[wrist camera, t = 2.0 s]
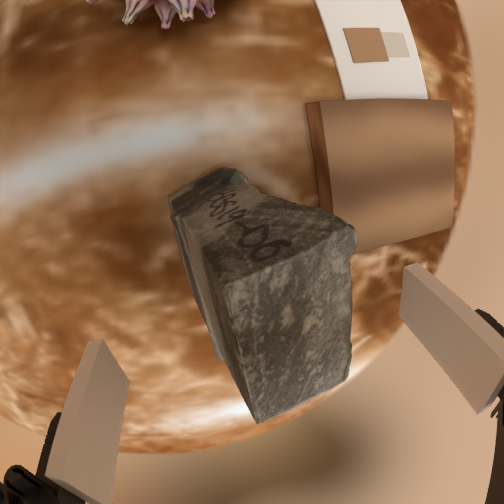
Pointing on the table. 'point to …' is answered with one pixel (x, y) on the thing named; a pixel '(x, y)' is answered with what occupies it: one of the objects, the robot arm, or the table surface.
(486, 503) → the robot arm
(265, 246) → the stone block
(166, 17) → the flower
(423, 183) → the base brick
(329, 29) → the page
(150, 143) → the table surface
